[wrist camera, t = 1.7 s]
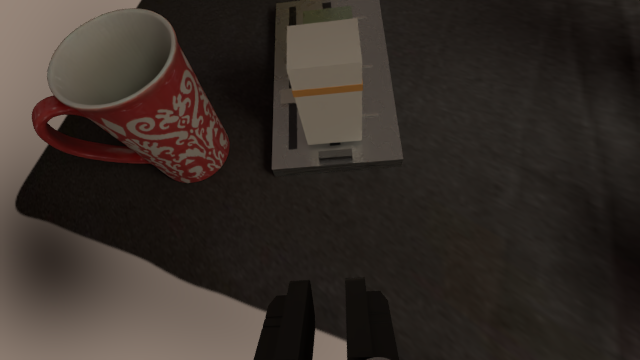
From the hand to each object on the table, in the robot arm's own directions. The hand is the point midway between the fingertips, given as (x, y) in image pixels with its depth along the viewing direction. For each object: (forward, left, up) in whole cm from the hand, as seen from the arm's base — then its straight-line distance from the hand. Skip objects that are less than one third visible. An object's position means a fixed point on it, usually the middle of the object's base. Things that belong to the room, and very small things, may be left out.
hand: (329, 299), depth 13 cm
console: (0, -24, -16) cm, 29 cm away
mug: (+16, -16, -16) cm, 28 cm away
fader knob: (0, -17, -14) cm, 22 cm away
